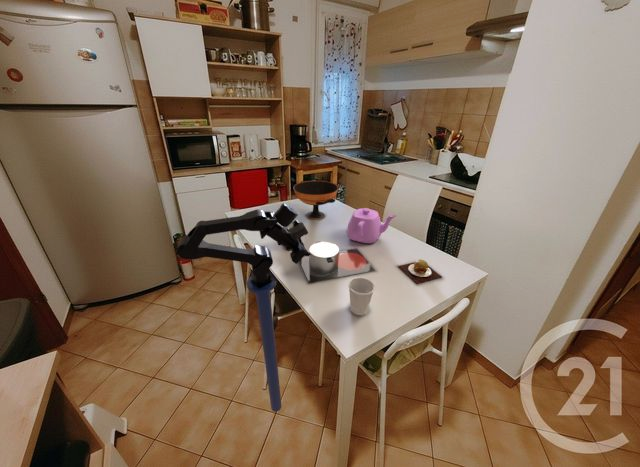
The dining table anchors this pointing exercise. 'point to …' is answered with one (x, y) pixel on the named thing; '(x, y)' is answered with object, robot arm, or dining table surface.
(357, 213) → the teapot
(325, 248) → the pot
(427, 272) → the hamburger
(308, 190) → the orange pedestal bowl
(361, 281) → the dixie cup
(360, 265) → the hob
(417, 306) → the dining table surface
